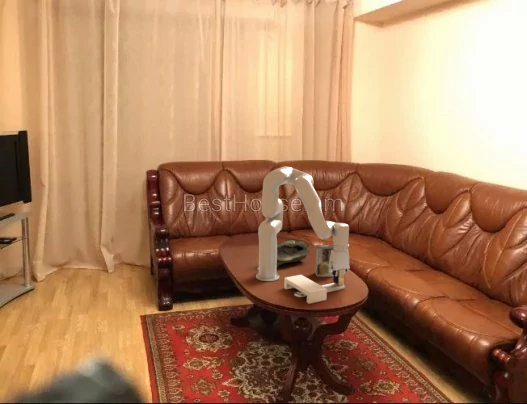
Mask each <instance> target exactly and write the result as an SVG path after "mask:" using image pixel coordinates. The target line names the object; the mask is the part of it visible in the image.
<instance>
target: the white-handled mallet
mask: <svg viewBox="0 0 527 404" xmlns="http://www.w3.org/2000/svg"><path fill="white" fill-rule="evenodd" d="M344 270H345V269H341V270H338V284H336V283H334V282H332V283H326V284H322V285H321V286H322V287H324V288H326V289H327V293H330V292H335V291H340V290H344V289H346V286H345V284H344V283H345V275H344ZM335 272H336V271H335Z"/></svg>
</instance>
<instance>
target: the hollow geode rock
mask: <svg viewBox="0 0 527 404" xmlns="http://www.w3.org/2000/svg"><path fill="white" fill-rule="evenodd" d="M309 247H310V245H309V244H308V243H307V241H305V240H302V239H298V240H297V239H294V238H293V239H292V238H291V239H287V240H285V241H282V242H277V268H278V267H280V266H281V265H283V264H285V263H286V264H289V263H294V262H297V263H298V262H301V261H304V260H305V259H307V258H306V257H307V255H308V254H309V253H310V250H309V249H308V248H309Z"/></svg>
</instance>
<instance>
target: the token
mask: <svg viewBox="0 0 527 404" xmlns="http://www.w3.org/2000/svg"><path fill="white" fill-rule="evenodd" d="M293 293H294V294H293V295H294V296H295V297H297V298H304V297H307V295H306V294H304V293H303V292H301V291H295V292H293Z"/></svg>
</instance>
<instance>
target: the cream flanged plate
mask: <svg viewBox="0 0 527 404" xmlns="http://www.w3.org/2000/svg"><path fill="white" fill-rule="evenodd" d="M283 285H284V287H283V288H284V290H289V289H296V290H298V292H303V293H304V294H306V295H307V296H306V303H307V304H309V305H310V304H314V303H319V302H323V301H327V298H328V297H327V295H328V292H327V289H326V288H324V287H322V286H321V285H320V284H318V283H317V282H315V281H314V280H311V279H310V278H308V277H306V276H304V275H303V274H297V275H292V276H287V277H286V276H285V277H284V283H283Z"/></svg>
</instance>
